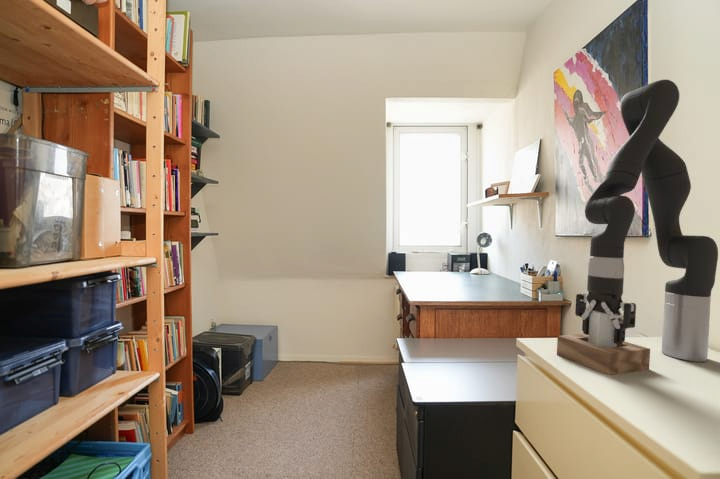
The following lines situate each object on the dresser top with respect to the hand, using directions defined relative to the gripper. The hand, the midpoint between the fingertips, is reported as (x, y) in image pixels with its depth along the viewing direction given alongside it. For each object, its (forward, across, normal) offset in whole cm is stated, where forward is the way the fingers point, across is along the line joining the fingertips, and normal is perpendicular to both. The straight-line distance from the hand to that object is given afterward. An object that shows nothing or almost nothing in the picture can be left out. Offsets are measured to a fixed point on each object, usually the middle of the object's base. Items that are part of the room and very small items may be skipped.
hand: (602, 338), depth 90 cm
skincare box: (+5, 0, 0) cm, 5 cm away
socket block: (+6, 0, 0) cm, 6 cm away
